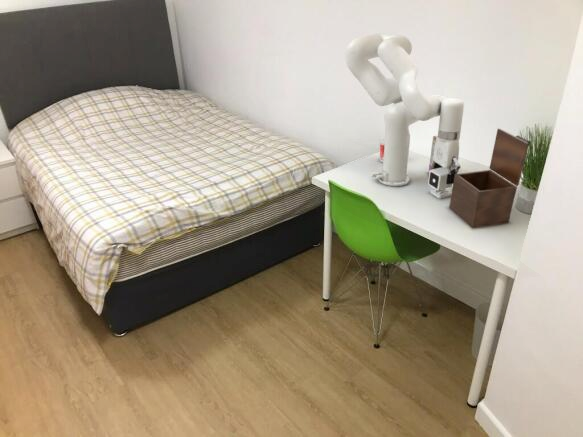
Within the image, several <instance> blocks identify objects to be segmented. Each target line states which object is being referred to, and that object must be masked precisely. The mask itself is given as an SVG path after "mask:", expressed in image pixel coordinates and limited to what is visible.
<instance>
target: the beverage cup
mask: <svg viewBox="0 0 583 437" xmlns="http://www.w3.org/2000/svg"><path fill="white" fill-rule="evenodd" d="M384 147H385V138H384V139H380V140H379V161H380V162H381V163H383V158H384Z"/></svg>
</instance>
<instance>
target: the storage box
mask: <svg viewBox="0 0 583 437" xmlns="http://www.w3.org/2000/svg"><path fill="white" fill-rule="evenodd" d="M451 188H452V189H451V196H450V201H449V206H448V207H449V210H450V211H451V212H453V213H454V214H455V215H457V216H458V217H459V218H460V219H461V220H462V221H463V222H465V223H466V224H467V225H468V226H469V227H470V228H472V229H476V228H483V227H489V226H496V225H501V224H509V222H510V217H511V215H512V214H511V213H512V210H513V206H514V202H515V197H516V193H517V189H518V186H516V185H514V184H513V183H511V182H510V181H508V180H506V179H505V178H503V177H502V176H500V175H499V174H497V173H496V172H494V171H492V170H491V169H484V170H477V171H469V172H460V173H457V174H455V176H454V182H453V184H452V187H451Z"/></svg>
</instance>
